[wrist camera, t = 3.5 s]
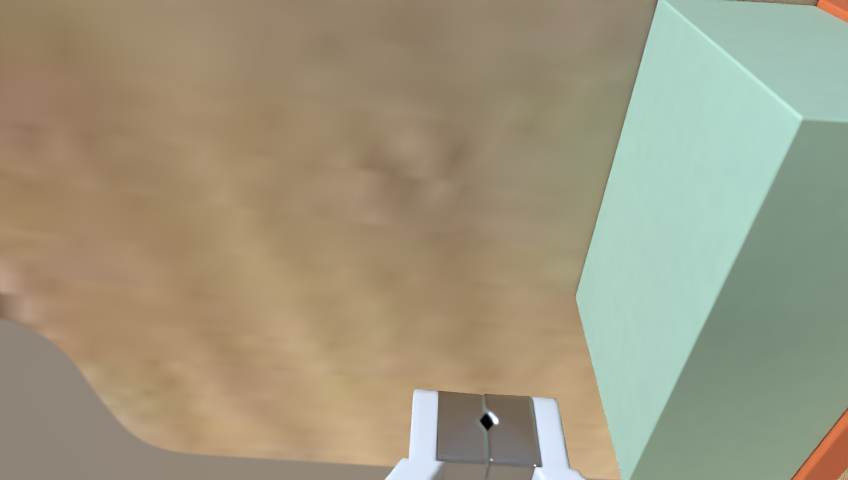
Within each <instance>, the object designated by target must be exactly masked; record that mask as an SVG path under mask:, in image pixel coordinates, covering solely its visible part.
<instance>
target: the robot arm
mask: <svg viewBox="0 0 848 480" xmlns="http://www.w3.org/2000/svg"><path fill="white" fill-rule="evenodd" d="M385 480H586V479H585V478H584V477H583V476H582V475H581V473H580V472H579V471H578V470H573V469H570V464H569V459H568V454H567V449H566V443H565V438H564V433H563V427H562V422H561V417H560V411H559V406H558V402H557V401H556V399H555V398H540V397H530V396H513V395H493V394H484V395H479V394H467V393H456V392H445V391H439V392H438V391H433V390H420V389H415V390H414V395H413V408H412V422H411V436H410V450H409V459H401V460H400V462H399V463H398V464H397V465H396V467H395V468H394V469H393V471H392V472H391V473H390V474H389V476H388V477H387V478H386V479H385Z"/></svg>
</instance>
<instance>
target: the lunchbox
mask: <svg viewBox="0 0 848 480" xmlns="http://www.w3.org/2000/svg"><path fill="white" fill-rule="evenodd" d="M575 298H576V302H577V306H578V310H579V313H580V317H581V321H582V325H583V329H584V333H585V337H586V341H587V345H588V349H589V353H590V357H591V360H592V364H593V368H594V372H595V376H596V380H597V384H598V388H599V392H600V396H601V400H602V404H603V408H604V411H605V415H606V419H607V423H608V427H609V431H610V435H611V439H612V443H613V447H614V451H615V455H616V458H617V462H618V466H619V470H620V474H621V478H622V480H837V479H838V478H839V477H840V475H841V474H842V473H843V472H844V471H845V470H846V469H847V467H848V0H819V1H818V3H817V6H811V5H794V4H777V3H760V2H744V1H727V0H658V3H657V7H656V10H655V14H654V17H653V21H652V24H651V28H650V32H649V35H648V39H647V42H646V46H645V50H644V53H643V57H642V60H641V64H640V68H639V71H638V75H637V78H636V82H635V86H634V89H633V93H632V96H631V100H630V104H629V107H628V111H627V114H626V118H625V121H624V125H623V129H622V132H621V136H620V139H619V143H618V147H617V150H616V154H615V157H614V161H613V165H612V168H611V172H610V175H609V179H608V183H607V186H606V190H605V193H604V197H603V200H602V204H601V208H600V211H599V215H598V218H597V222H596V226H595V229H594V233H593V236H592V240H591V244H590V247H589V251H588V254H587V258H586V262H585V265H584V269H583V272H582V276H581V279H580V283H579V287H578V290H577V294H576V297H575Z"/></svg>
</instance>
